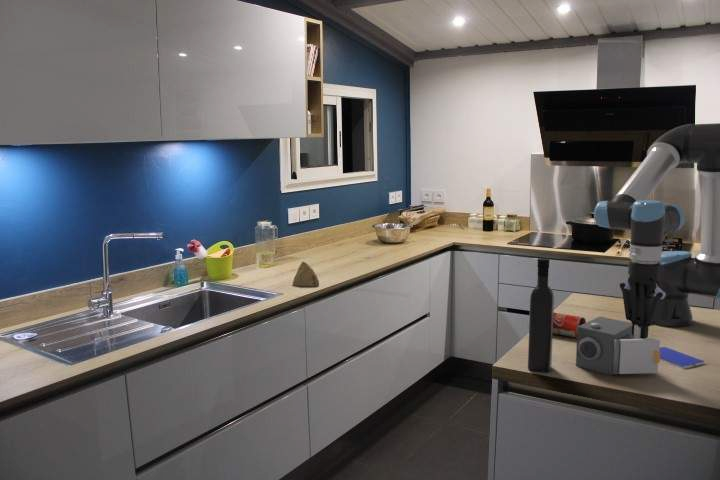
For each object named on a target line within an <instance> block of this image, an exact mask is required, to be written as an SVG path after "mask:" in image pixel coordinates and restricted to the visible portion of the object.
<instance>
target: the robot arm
mask: <svg viewBox="0 0 720 480" xmlns="http://www.w3.org/2000/svg"><path fill="white" fill-rule="evenodd" d="M684 163H689V164H696V171H697V172H698V173H699V174H700V175H701V181H702V182H701V218H700V219H701V221H700V249H699V251H697V252H696V254H694V257H693V254H692V253H691V252H690V251H687V250H686V251H685V250H671V251H663V237H664V235H667V234H673V233H675V232H677V231H678V230H681V228H683V226H684V224H685V221H686V216H685V213H684V210H683V209H682V208H681V207H679V206H678V205H677V204H676V205H675V204H672V203H671V204H667V203H664V202H663V201H660V200H656V199H655V200H654V199H653V200H652V199H651V200H650V199H649V198H650V197H651V195H652V194H653V192H654V191H655V190H656V189H657V188H658V186H659V184H660V183H661V182H662V181H663V179H664V178H665V177H666V176H667V174H668V172H669V171H670V170H673V169H675V168H676V167H678V165H679V164H684ZM593 220H594V222H595V224H596V225H597V226H598V227H600V228H601V227H602V228H607V229H610V230H622V231H630V241H629V256H628V258H629V259H630V260H629V261H628V268H627V269H628V270H627V274H628V275H629V276H628V277H627V278H628V279H627V281H625V282H621V283H619V288H620V291H621V292H622V299H623V300H622V301H623V306H624V308H623V309H624V314H625V315H624V316H625V320H627V321H630V323H632V335H633V336H634V339H648V338H649V328H650V327H653V326H655V325H656V326H663V327H672V328H673V327H674V328H679V327H688V326H691V325H692V324H693V317H694V316H693V313H692V310H691V305H690V302H689V300H688V299H689V294H691V295H696V296H702V297H708V298H712V299H715V300H719V299H720V122H719V123H718V122H717V123H699V124H698V123H697V124H696V123H690V124H689V123H688V124H683V125H680V126H676V127H674V128H672V129H670V130H668V131H667V132H665V133H664V134H662V135H661V136H659V137H658V138H656V140H655V141H654V142H652V144H651V145H650V146H649V147H648V149H647V151H646V157H645V158H644V159H643V161H642V162H640V165H638V167H637V169H635V170H634V172H633V173H632V174H631V176H630V177H629V178H628V180H626V182H625V184H624V185H623V186H622V187H621V188H620V190H619V191H618V192H617V194H615V196H613V198H612V200H611V201H610V200H602V201H599V202H597V204H596V206H595V208H594V212H593Z"/></svg>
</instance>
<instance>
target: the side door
mask: <svg viewBox="0 0 720 480" xmlns="http://www.w3.org/2000/svg"><path fill="white" fill-rule="evenodd" d="M660 344H661V339H659V338H653V337H652V338H645V339H620V340H618V339H615V340H614V356H613V375H618V374H619V375H633V374H636V375H638V374H658V372H659V364H660V363H661V362H660V361H661V360H660V351H659V348H660Z"/></svg>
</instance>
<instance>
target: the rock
mask: <svg viewBox="0 0 720 480" xmlns="http://www.w3.org/2000/svg"><path fill="white" fill-rule="evenodd" d="M297 269H298V270H297V271H296V274H295V276H294V277H293V281H292V286H295V287H319V286H320V281H319V278H318V275H317V274H316V272H315V271H314V270H313V268H312V267H311V266H310V265H309V264H308V263H307V262H306V261H302V262H301V263H300V265H299V267H298V268H297Z"/></svg>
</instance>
